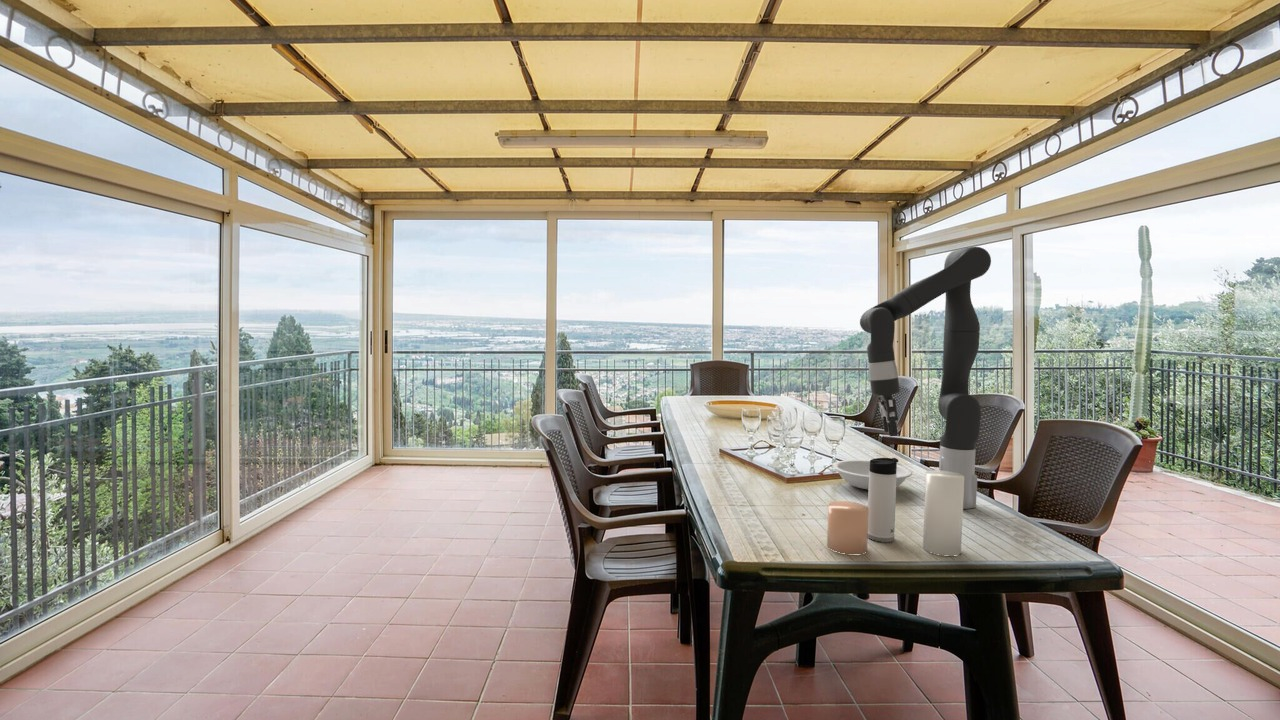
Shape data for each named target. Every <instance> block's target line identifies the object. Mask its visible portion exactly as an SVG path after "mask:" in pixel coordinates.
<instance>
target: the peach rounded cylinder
mask: <svg viewBox="0 0 1280 720" xmlns="http://www.w3.org/2000/svg"><path fill="white" fill-rule="evenodd" d="M868 518H869V508H868V505H865V504H863V503H859V502H855V501H847V500H834V501H831V502H829V503H828V504H827V530H826V532H827V533H826V534H827V536H826V539H827V540H826V547H827V546H828V547H829V548H830V549H832V550H834V551H837V552H840V553H845V554H863V553H865V552H867V553H868V545H869V541H868V540H869V538H868Z"/></svg>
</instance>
